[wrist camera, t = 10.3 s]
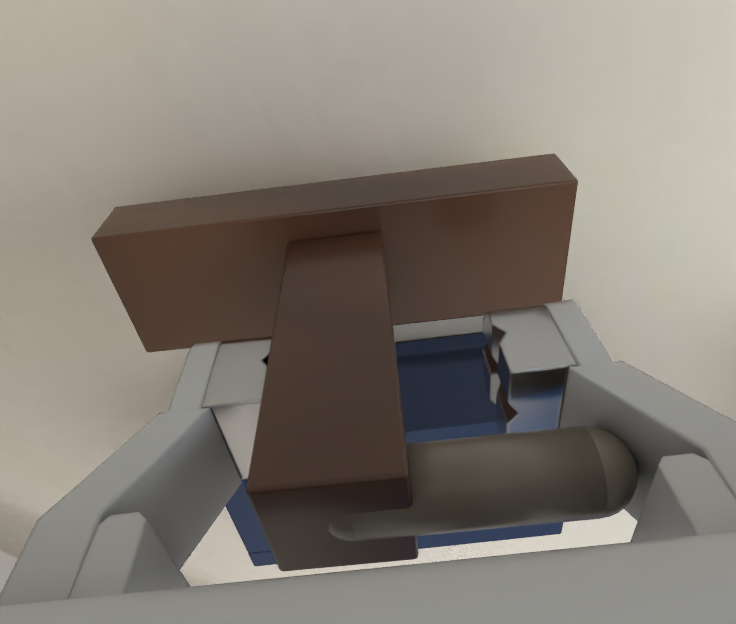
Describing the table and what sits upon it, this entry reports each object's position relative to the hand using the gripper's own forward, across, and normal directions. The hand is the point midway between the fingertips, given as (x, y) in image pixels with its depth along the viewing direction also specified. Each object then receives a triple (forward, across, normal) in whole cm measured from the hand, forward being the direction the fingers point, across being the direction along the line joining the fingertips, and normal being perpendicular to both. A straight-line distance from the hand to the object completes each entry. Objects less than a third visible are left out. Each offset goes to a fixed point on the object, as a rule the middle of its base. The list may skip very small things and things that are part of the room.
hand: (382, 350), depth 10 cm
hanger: (+4, +1, 0) cm, 4 cm away
